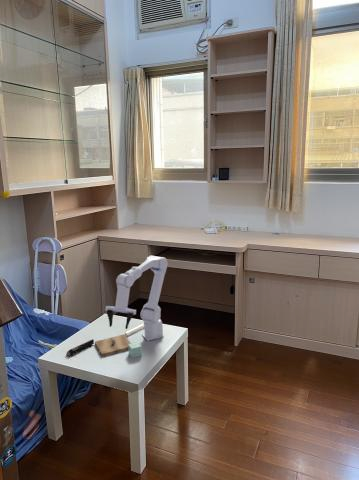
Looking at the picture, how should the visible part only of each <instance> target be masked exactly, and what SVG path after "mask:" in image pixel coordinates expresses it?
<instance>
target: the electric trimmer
mask: <svg viewBox="0 0 359 480" xmlns="http://www.w3.org/2000/svg"><path fill="white" fill-rule="evenodd" d="M93 345H95V340H94V339H93V338H92V339H90V340H88V341H86V342H84V343H81V344H79V345H76V346H75V347H73V348H70V349H68V351H67V352H66V354H65V355H66V356H67V357H69V358H73V356H74V355H75V354H77V353H80V352H81V351H83V350H86V349H89V347H92V346H93Z"/></svg>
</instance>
